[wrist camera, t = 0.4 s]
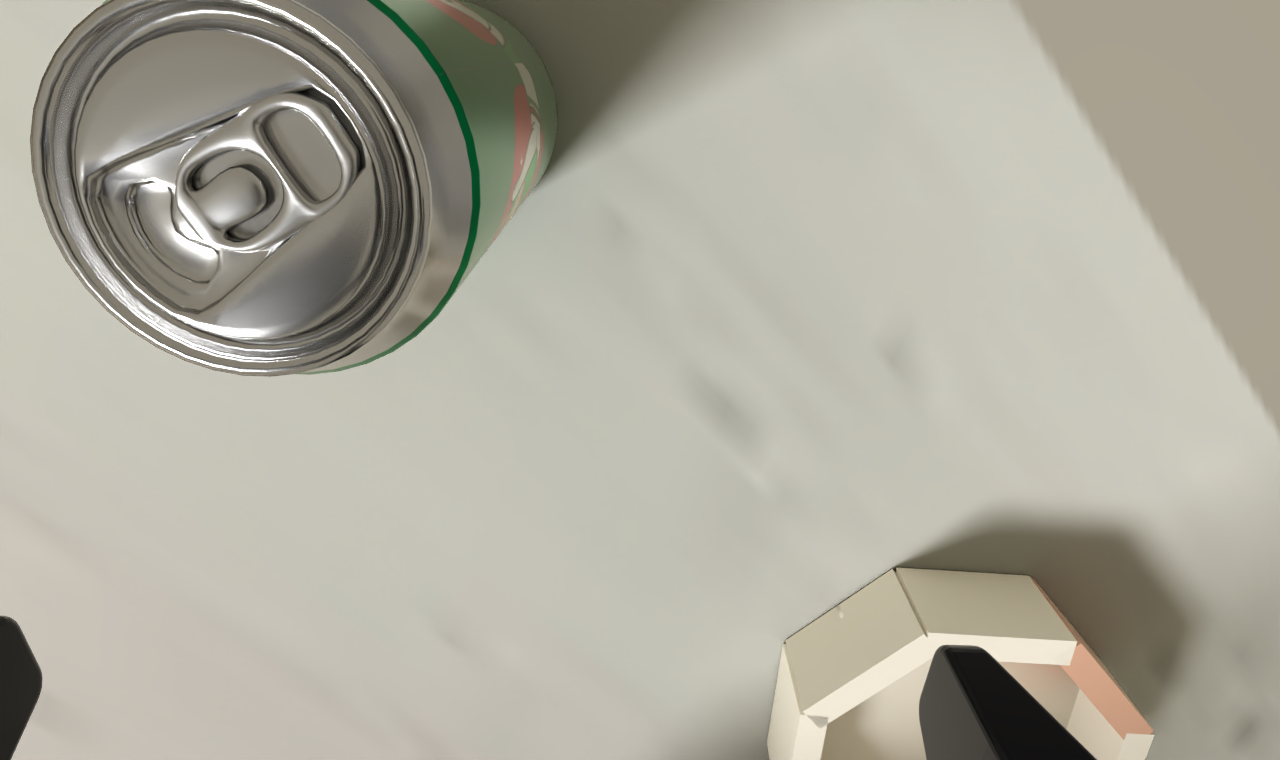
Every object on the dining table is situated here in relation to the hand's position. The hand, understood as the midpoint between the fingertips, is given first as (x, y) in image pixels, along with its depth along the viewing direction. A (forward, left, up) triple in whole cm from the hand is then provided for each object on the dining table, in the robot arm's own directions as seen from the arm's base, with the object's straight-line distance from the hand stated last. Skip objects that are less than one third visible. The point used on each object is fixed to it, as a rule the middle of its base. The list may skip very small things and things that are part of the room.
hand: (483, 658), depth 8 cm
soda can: (+4, +3, -15) cm, 16 cm away
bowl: (-13, -12, -15) cm, 23 cm away
